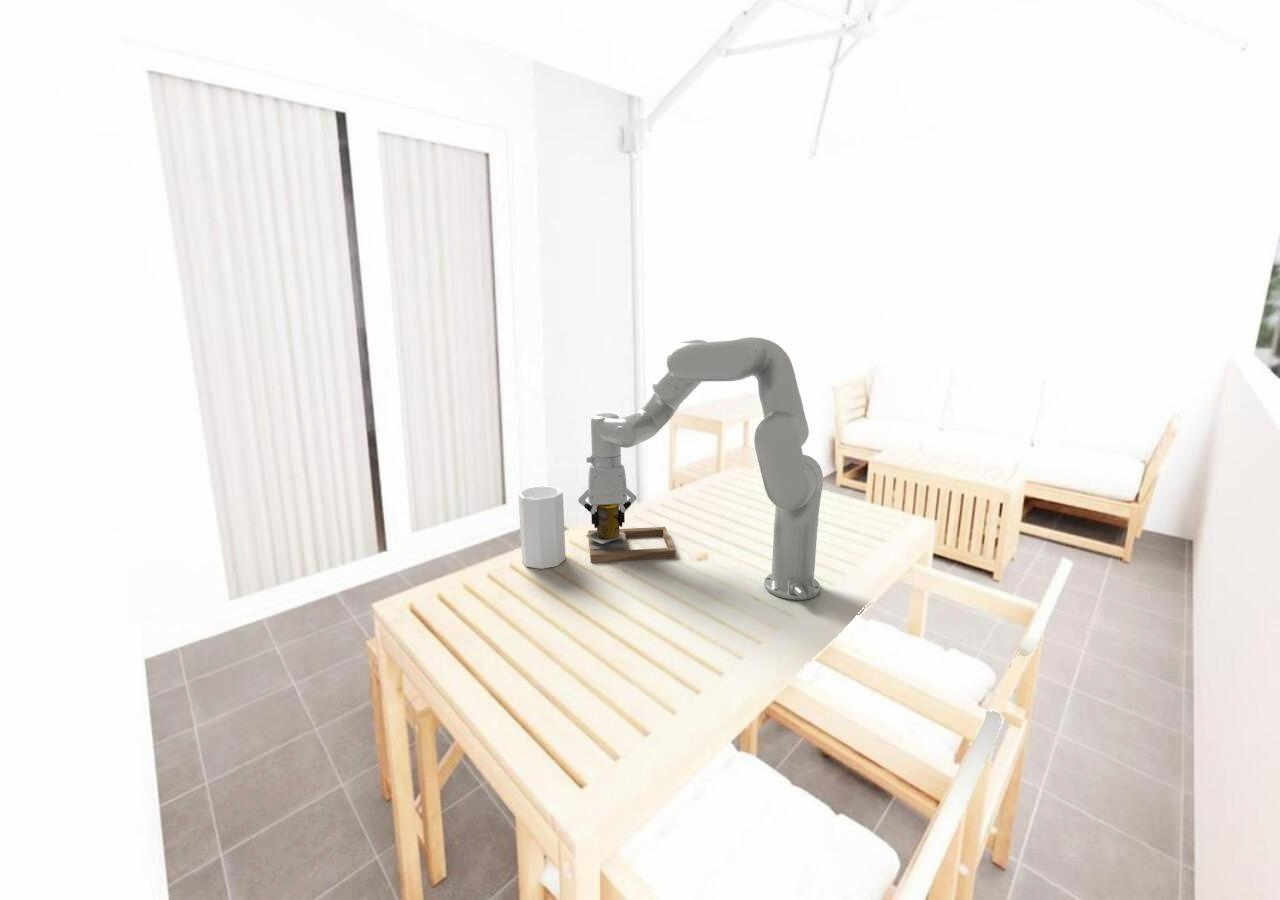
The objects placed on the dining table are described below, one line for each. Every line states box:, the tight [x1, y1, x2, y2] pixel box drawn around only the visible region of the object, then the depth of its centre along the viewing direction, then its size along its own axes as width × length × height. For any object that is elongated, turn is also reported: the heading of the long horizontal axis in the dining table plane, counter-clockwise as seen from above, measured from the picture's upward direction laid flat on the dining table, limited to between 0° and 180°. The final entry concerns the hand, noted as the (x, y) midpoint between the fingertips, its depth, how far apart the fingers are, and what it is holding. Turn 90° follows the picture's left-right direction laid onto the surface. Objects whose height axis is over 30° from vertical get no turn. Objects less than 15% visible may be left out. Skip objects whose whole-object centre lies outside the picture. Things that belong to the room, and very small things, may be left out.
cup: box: [517, 485, 566, 570], centre depth 153 cm, size 11×11×18 cm
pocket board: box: [587, 526, 676, 563], centre depth 163 cm, size 17×22×2 cm
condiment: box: [585, 504, 625, 544], centre depth 160 cm, size 7×8×12 cm
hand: (608, 525), depth 160 cm, fingers closed on condiment, 6 cm apart
